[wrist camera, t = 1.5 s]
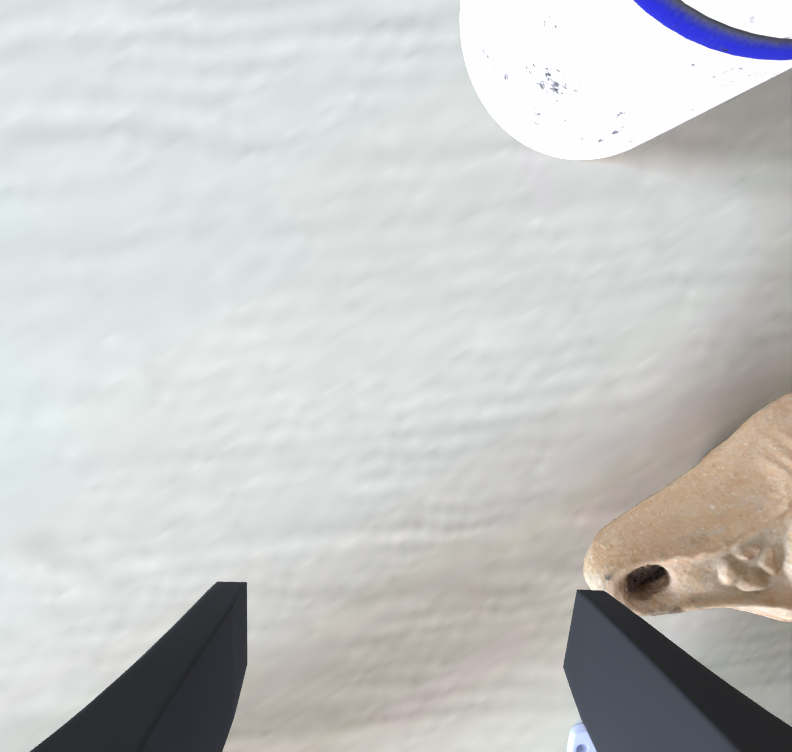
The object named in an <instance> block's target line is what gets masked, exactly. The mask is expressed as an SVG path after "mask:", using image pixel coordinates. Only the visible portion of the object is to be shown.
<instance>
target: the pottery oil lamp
mask: <svg viewBox="0 0 792 752" xmlns="http://www.w3.org/2000/svg"><path fill="white" fill-rule="evenodd" d="M583 573H584V577H585V580H586V582H587V584H588V585H589V587H590V588H591V589H592V590H604V591H605V592H607V593H608V594H610V595H611V596H613V597H614V598H615V599H617V600H618V601H619V602H621V603H622V604H624V605H625V606H626V607H628V608H629V609H630V610H631V611H633V612H634V613H635V614H637V615H638V616H655V615H663V614H672V613H681V612H685V611H690V610H701V609H710V608H723V607H728V608H734V609H738V610H741V611H747V612H751V613H755V614H758V615H762V616H765V617H768V618H772V619H776V620H780V621H784V622H792V392H790V393H788V394H785V395H783V396H782V397H780V398H778V399H776V400H774V401H772V402H771V403H769V404H768V405H766V406H765V407H763V408H762V409H760V410H759V411H758V412H756V413H755V414H754V415H752V416H751V417H750V418H749V419H748V420H746V421H745V422H744V423H743V424H742V425H741V426H740V427H739V428H738V429H737V430H736V431H735V432H734V433H733V434H732V435H731V436H730V437H729V438H728V439H727V440H725V441H724V442H722V443H721V444H719V445H718V446H717V447H715V448H714V449H712V450H711V451H710V452H709V453H708V454H707V455H706V456H705V457H703V458H702V460H701V461H700V462H699V463H698V464H697V465H696V466H695V467H694V468H692V469H691V470H689V471H688V472H687V473H685V474H684V475H682V476H680V477H679V478H678V479H676V480H674V481H673V482H671V483H670V484H669V485H667V486H666V487H665V488H664V489H662V490H661V491H659V492H657V493H656V494H654V495H652V496H650V497H649V498H647V499H645V500H644V501H642V502H641V503H639V504H638V505H636V506H635V507H633V508H632V509H630V510H629V511H627V512H626V513H624V514H622V515H621V516H619V517H618V518H616V519H614V520H613V521H612V522H610V523H609V524H607V525H606V526H605V527H604V528H603V529H601V530H600V531H599V532H598V534H597V535H596V536H595V538H594V540H593V542H592V543H591V545H590V547H589V549H588V551H587V553H586V555H585V560H584V565H583Z"/></svg>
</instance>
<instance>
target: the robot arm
mask: <svg viewBox="0 0 792 752" xmlns="http://www.w3.org/2000/svg"><path fill="white" fill-rule="evenodd" d="M246 667H247V582H217V583H215V584H214V585H213V586H212V587H211V588H210V589H209V590H208V591H207V592H206V593H205V594H204V595H203V596H202V597H201V598H200V599H199V600H198V601H197V602H196V603H195V604H194V605H193V606H192V607H191V608H190V609H189V610H188V611H187V612H186V614H185V615H184V616H183V617H182V618H181V619H180V620H179V621H178V622H177V623H176V624H175V625H174V626H173V627H172V628H171V629H170V630H169V631H168V632H167V633H166V634H164V635H163V636H162V637H161V638H160V639H159V640H158V641H157V642H156V643H155V644H154V645H153V646H152V647H151V648H150V649H149V650H148V651H147V652H146V653H145V654H144V655H143V656H142V657H141V658H140V659H139V660H137V661H136V662H135V663H134V664H133V665H132V666H131V667H130V668H129V669H128V670H127V671H125V672H124V673H123V674H122V675H121V676H120V677H119V678H118V679H116V680H115V681H114V682H113V683H112V684H111V685H110V686H109V687H107V688H106V689H105V690H104V691H103V692H102V693H101V694H100V695H98V696H97V697H96V698H95V699H94V700H93V701H92V702H91V703H89V704H88V705H87V706H86V707H85V708H83V709H82V710H81V711H80V712H79V713H77V714H76V715H75V716H74V717H73V718H71V719H70V720H69V721H68V722H67V723H65V724H64V725H63V726H62V727H60V728H59V729H58V730H57V731H56V732H54V733H53V734H52V735H51V736H49V737H48V738H47V739H45V740H44V741H43V742H42V743H40V744H39V745H38V746H37V747H35V748H34V749H33V750H31V751H30V752H222V751H223V748H224V745H225V742H226V739H227V736H228V734H229V731H230V728H231V725H232V722H233V719H234V715H235V711H236V708H237V704H238V700H239V696H240V692H241V688H242V683H243V679H244V675H245V671H246ZM563 668H564V671H565V674H566V677H567V680H568V683H569V686H570V689H571V692H572V695H573V697H574V700H575V703H576V706H577V708H578V711H579V714H580V717H581V719H582V722H583V723H581V724H577V725H575V726H573V727H572V729H571V731H570V734H569V740H568V745H567V751H566V752H792V727H791V726H789V725H788V724H786V723H785V722H783V721H782V720H780V719H779V718H777V717H776V716H774V715H773V714H771V713H770V712H768V711H767V710H765V709H764V708H762V707H761V706H759V705H758V704H757V703H755V702H754V701H752V700H751V699H749V698H748V697H747V696H745V695H744V694H742V693H741V692H739V691H738V690H737V689H735V688H734V687H732V686H731V685H729V684H728V683H727V682H725V681H724V680H723V679H721V678H720V677H718V676H717V675H716V674H714V673H713V672H712V671H710V670H709V669H707V668H706V667H705V666H703V665H702V664H701V663H699V662H698V661H697V660H695V659H694V658H693V657H691V656H690V655H689V654H687V653H686V652H685V651H683V650H682V649H681V648H680V647H678V646H677V645H676V644H674V643H673V642H672V641H670V640H669V639H668V638H666V637H665V636H664V635H663V634H661V633H660V632H659V631H657V630H656V629H655V628H654V627H652V626H651V625H650V624H648V623H647V622H646V621H644V620H643V619H642V618H641V617H639V616H638V615H637V614H635V613H634V612H633V611H631V610H630V609H629V608H628V607H626V606H625V605H624V604H622V603H621V602H619V601H618V600H617V599H615V598H614V597H613V596H611V595H610V594H608V593H607V592H605V591H604V590H577V593H576V598H575V604H574V609H573V615H572V621H571V626H570V632H569V637H568V643H567V649H566V654H565V660H564V665H563Z"/></svg>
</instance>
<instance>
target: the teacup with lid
mask: <svg viewBox="0 0 792 752" xmlns="http://www.w3.org/2000/svg"><path fill="white" fill-rule="evenodd" d="M460 35H461V43H462V50H463V54H464V59H465V63H466V66H467V70H468V73H469V76H470V78H471V81H472V83H473V86H474V88H475V90H476V92H477V94H478V96H479V98H480V99H481V101H482V103H483V104H484V106H485V107H486V109H487V110H488V112H489V113H490V114H491V115H492V117H493V118H494V119H495V120H496V122H497V123H498V124H499V125H500V126H501V127H502V128H503V129H504V130H505V131H507V132H508V133H509V134H510V135H512V136H513V137H514V138H515V139H517V140H518V141H520V142H521V143H523V144H524V145H526V146H528V147H530V148H532V149H534V150H536V151H538V152H541V153H544V154H546V155H550V156H553V157H557V158H563V159H570V160H592V159H599V158H605V157H609V156H613V155H616V154H620V153H623V152H625V151H628V150H630V149H633V148H634V147H636V146H638V145H640V144H642V143H644V142H646V141H648V140H650V139H652V138H654V137H656V136H658V135H660V134H662V133H664V132H666V131H668V130H670V129H672V128H674V127H676V126H678V125H680V124H682V123H684V122H686V121H688V120H690V119H692V118H694V117H696V116H698V115H700V114H702V113H704V112H705V111H707V110H709V109H711V108H713V107H715V106H717V105H719V104H721V103H723V102H725V101H727V100H729V99H731V98H733V97H735V96H737V95H739V94H741V93H743V92H745V91H747V90H749V89H751V88H753V87H755V86H757V85H759V84H761V83H763V82H765V81H767V80H769V79H771V78H773V77H774V76H776V75H778V74H780V73H782V72H784V71H786V70H788V69H790V68H792V0H461V4H460Z"/></svg>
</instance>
